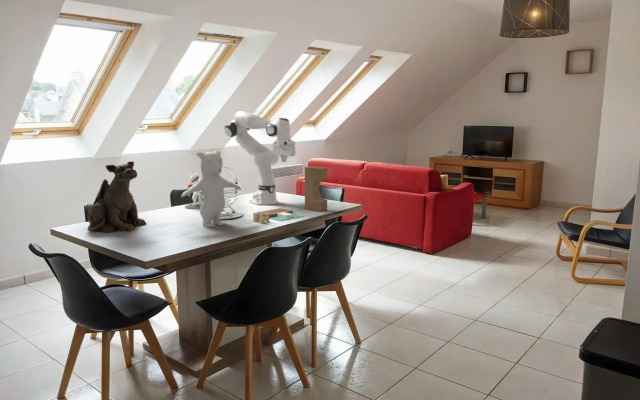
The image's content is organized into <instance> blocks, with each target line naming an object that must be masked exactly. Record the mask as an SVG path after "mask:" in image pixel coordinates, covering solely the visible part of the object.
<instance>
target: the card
mask: <svg viewBox="0 0 640 400" xmlns="http://www.w3.org/2000/svg"><path fill="white" fill-rule="evenodd" d="M293 214H294V213H293ZM293 214H290V213H286V212H282V213H277V216H278V217H282V218H291V217H293Z"/></svg>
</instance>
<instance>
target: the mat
mask: <svg viewBox="0 0 640 400" xmlns="http://www.w3.org/2000/svg"><path fill="white" fill-rule="evenodd" d="M304 217H305V216H304V215H300V214H295V213H293V217H291V218H282V217H278V216H277V217H271V218H269V220H273V221H276V222H277V221H278V222H284V221H290V220H294V219H300V218H304Z"/></svg>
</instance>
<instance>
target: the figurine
mask: <svg viewBox="0 0 640 400" xmlns="http://www.w3.org/2000/svg"><path fill="white" fill-rule="evenodd" d="M199 179H200V178H199V174H198V173H194V172H192V175H191V176H190V177H189V180H190V183H188V184H187V190H188V189H189V188H190V187H192V186H194V184H195V183H196V182H197V181H198V180H199ZM192 194H193V195H192V197H191V200H192V201H193V203H188V204H186V205H185V206H184V208H185V209H187V210H200V207H201V204H202V202H203V195H202V192H201V191H196V192H193V193H192Z"/></svg>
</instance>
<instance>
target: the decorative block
mask: <svg viewBox="0 0 640 400" xmlns="http://www.w3.org/2000/svg"><path fill="white" fill-rule="evenodd" d="M325 179H328V167H322V166H320V167H319V166H313V165H312V166H305V167H304V209H305V210H309V211H313V212H314V211H315V212H320V213H321V212H325V211H327V210H328V200H327V199H325V198H324V197H323V196H322V195H321V190H320V187H321V185H320V184H321V183H322V181H324V180H325Z"/></svg>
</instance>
